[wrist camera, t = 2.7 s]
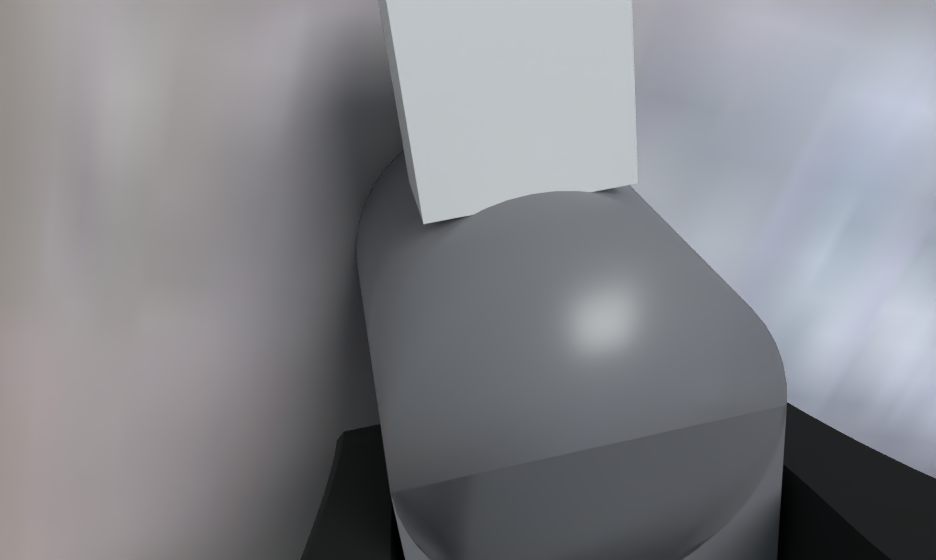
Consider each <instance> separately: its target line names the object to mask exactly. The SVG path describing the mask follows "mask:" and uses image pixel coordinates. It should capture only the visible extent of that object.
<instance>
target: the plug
mask: <svg viewBox="0 0 936 560" xmlns="http://www.w3.org/2000/svg"><path fill="white" fill-rule="evenodd" d="M378 2H379V8H380V14H381V20H382V26H383V32H384V37H385V43H386V49H387V55H388V61H389V67H390V73H391V78H392V84H393V90H394V96H395V102H396V108H397V113H398V119H399V125H400V131H401V137H402V143H403V149H404V151H403V152H402V153H400V154H399V155H398V156H397V157H396V158H395V159H394V160H393V161H392V162H391V164H390V165H389V166H388V167H387V168H386V170H385V171H384V172H383V173H382V174H381V176H380V178H379V179H378V181H377V182H376V184H375V185H374V187H373V189H372V190H371V193H370V195H369V197H368V199H367V201H366V203H365V206H364V209H363V212H362V215H361V218H360V222H359V227H358V233H357V240H356V259H357V266H358V273H359V280H360V287H361V294H362V301H363V308H364V315H365V321H366V328H367V335H368V342H369V349H370V356H371V363H372V370H373V377H374V383H375V390H376V397H377V404H378V411H379V418H380V425H381V432H382V439H383V445H384V452H385V459H386V466H387V473H388V480H389V487H390V493H391V498H392V502H393V507H394V511H395V516H396V520H397V525H398V529H399V534H400V538H401V543H402V547H403V551H404V556H405V560H777V551H778V535H779V519H780V504H781V488H782V472H783V457H784V441H785V425H786V410H787V384H786V378H785V372H784V367H783V362H782V359H781V356H780V354H779V351H778V348H777V345H776V343H775V341H774V339H773V338H772V336H771V334H770V332H769V330H768V329H767V327H766V325H765V324H764V323H763V321H762V320H761V319H760V318H759V317H758V315H757V314H756V313H755V312H754V311H753V309H752V308H751V307H750V306H749V305H748V304H747V303H746V302H745V301H744V300H743V299H742V298H741V297H740V296H739V295H738V294H737V293H736V292H735V291H734V290H733V289H732V288H731V287H730V286H729V285H728V284H727V283H726V282H725V281H724V280H723V279H722V278H721V277H720V276H719V275H718V274H717V273H716V272H715V271H714V270H713V269H712V268H711V267H710V266H709V265H708V264H707V263H706V262H705V261H704V260H703V259H702V258H701V257H700V256H699V255H698V254H697V253H696V252H695V251H694V250H693V249H692V248H691V247H690V246H689V245H688V244H687V243H686V242H685V241H684V240H683V239H682V238H681V237H680V236H679V235H678V234H677V233H676V231H675V230H674V229H673V228H672V227H671V226H670V225H669V224H668V223H667V222H666V221H665V220H664V219H663V218H662V217H661V216H660V215H659V214H658V213H657V212H656V211H655V210H654V209H653V208H652V207H651V206H650V205H649V204H648V203H647V202H646V201H645V200H644V199H643V198H642V197H641V196H640V195H639V194H638V193H637V192H636V191H635V190H634V189H633V188H632V187H631V186H630V185H631V184H637V183H638V168H637V139H636V109H635V80H634V50H633V21H632V0H378Z"/></svg>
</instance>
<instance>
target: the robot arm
mask: <svg viewBox="0 0 936 560" xmlns="http://www.w3.org/2000/svg"><path fill="white" fill-rule="evenodd" d="M300 560H405V556H404V551H403V547H402V543H401V538H400V534H399V529H398V525H397V520H396V516H395V511H394V507H393V502H392V498H391V493H390V487H389V480H388V473H387V466H386V459H385V452H384V445H383V439H382V432H381V425H380V424H378V425H374V426H369V427H364V428H360V429H355V430H350V431H346V432H343V434H342V435H341V436H340V438H339V439H338V440H337V445H336V451H335V456H334V460H333V465H332V469H331V473H330V476H329V480H328V483H327V487H326V490H325V493H324V496H323V499H322V503H321V506H320V509H319V511H318V514H317V517H316V520H315V522H314V525H313V528H312V531H311V533H310V536H309V539H308V542H307V544H306V547H305V550H304V552H303V555H302V557H301V559H300ZM777 560H936V479H935V478H933V477H931V476H929V475H926V474H924V473H922V472H920V471H917V470H915V469H913V468H911V467H909V466H907V465H905V464H903V463H901V462H898V461H896V460H894V459H892V458H890V457H888V456H886V455H884V454H882V453H880V452H878V451H876V450H874V449H872V448H870V447H868V446H866V445H864V444H862V443H860V442H858V441H856V440H854V439H852V438H851V437H849V436H847V435H845V434H843V433H841V432H839V431H837V430H835V429H834V428H832V427H830V426H828V425H826V424H824V423H823V422H821V421H819V420H817V419H815V418H814V417H812V416H810V415H808V414H806V413H805V412H803V411H801V410H799V409H798V408H796V407H794V406H792V405H791V404H789V403H787V410H786V425H785V441H784V457H783V472H782V488H781V504H780V519H779V535H778V551H777Z"/></svg>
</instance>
